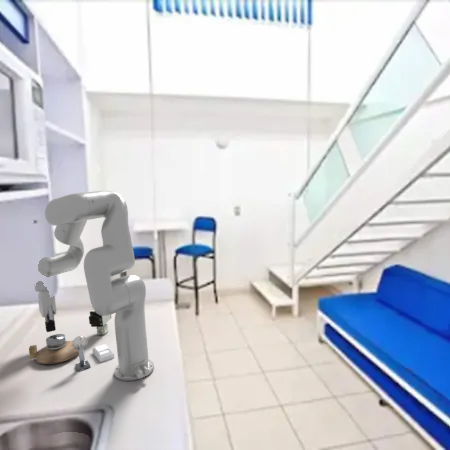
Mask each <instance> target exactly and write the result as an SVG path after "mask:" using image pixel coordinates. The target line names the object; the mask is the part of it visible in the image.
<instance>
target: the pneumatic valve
mask: <svg viewBox="0 0 450 450" xmlns="http://www.w3.org/2000/svg"><path fill="white" fill-rule="evenodd" d="M111 319H112V314H111V315H108V316H101V315H99V314H97V313H96V312H95V310H94V309H93V308H92V309H91V310H90V311H89V316H88V321H89V323H88V324H89V325H90V327H91V328H93V327H94V328H96V335H98V336H99V335H103V336H105V335H106V334H108V332H109V329H108V322H109V321H110V320H111Z"/></svg>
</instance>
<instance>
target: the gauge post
mask: <svg viewBox="0 0 450 450" xmlns="http://www.w3.org/2000/svg"><path fill="white" fill-rule="evenodd" d="M72 341H73V346H74V348H75V349H77V350H78V351H79V354H78V357H79V362H78V363H75V364H74V366H75V369H76V370H77V372H80V371H84V370H86V369H89V368H91V364H90V363H89V361H88V360H85V352H84V351H85V350H84V349H85V348H86V347H87V345H88V339H87V338H86V337H85V336H84V335H78V336H77V337H75V338H74V339H73V340H72Z"/></svg>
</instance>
